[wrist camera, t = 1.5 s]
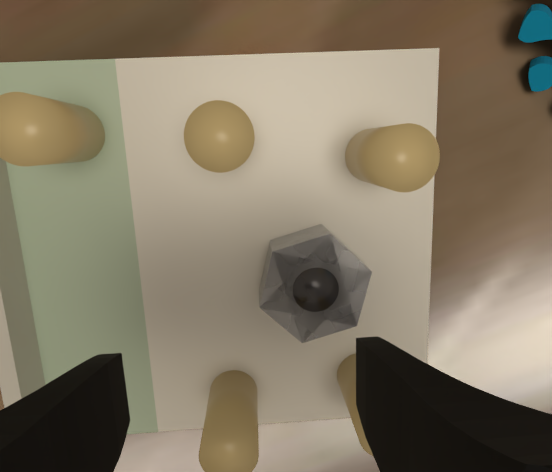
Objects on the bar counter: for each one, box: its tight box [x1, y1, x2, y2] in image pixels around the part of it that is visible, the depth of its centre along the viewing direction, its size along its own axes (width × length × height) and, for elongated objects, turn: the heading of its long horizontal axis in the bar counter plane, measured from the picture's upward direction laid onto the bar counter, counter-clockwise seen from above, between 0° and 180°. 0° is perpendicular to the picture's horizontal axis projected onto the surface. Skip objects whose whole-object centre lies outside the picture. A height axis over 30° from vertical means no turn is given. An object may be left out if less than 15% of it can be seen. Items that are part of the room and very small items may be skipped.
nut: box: [259, 224, 372, 343], centre depth 19 cm, size 4×5×2 cm
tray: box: [0, 48, 440, 472], centre depth 18 cm, size 18×20×6 cm
